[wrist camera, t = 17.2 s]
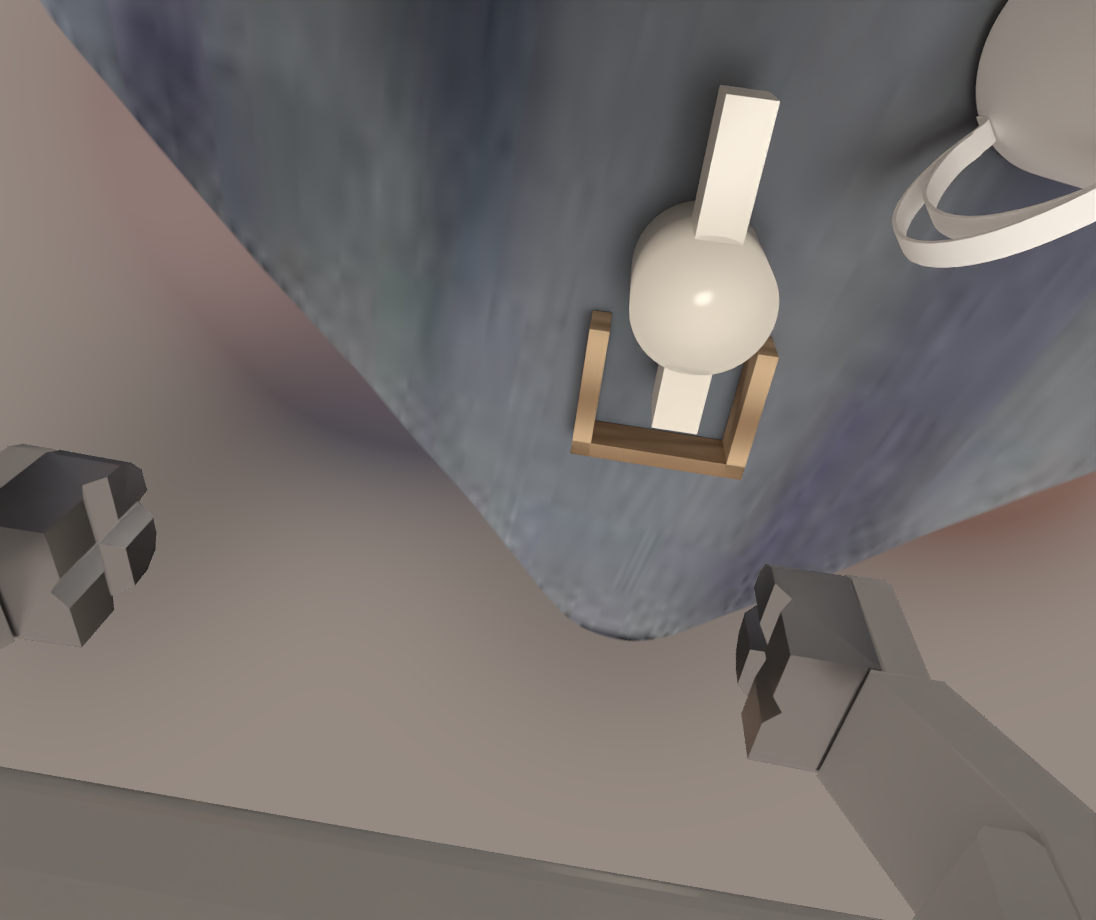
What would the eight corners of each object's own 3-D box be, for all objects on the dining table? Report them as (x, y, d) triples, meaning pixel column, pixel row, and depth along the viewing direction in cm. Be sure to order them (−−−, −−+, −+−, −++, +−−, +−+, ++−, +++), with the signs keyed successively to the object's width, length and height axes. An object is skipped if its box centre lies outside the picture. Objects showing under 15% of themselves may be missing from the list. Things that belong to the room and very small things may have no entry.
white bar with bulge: (810, 89, 39) (838, 109, 33) (729, 385, 49) (740, 441, 43) (665, 70, 39) (668, 86, 33) (613, 367, 49) (608, 420, 43)
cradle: (592, 310, 47) (589, 329, 44) (771, 336, 46) (778, 357, 44) (574, 430, 52) (570, 453, 49) (736, 455, 51) (740, 480, 49)
